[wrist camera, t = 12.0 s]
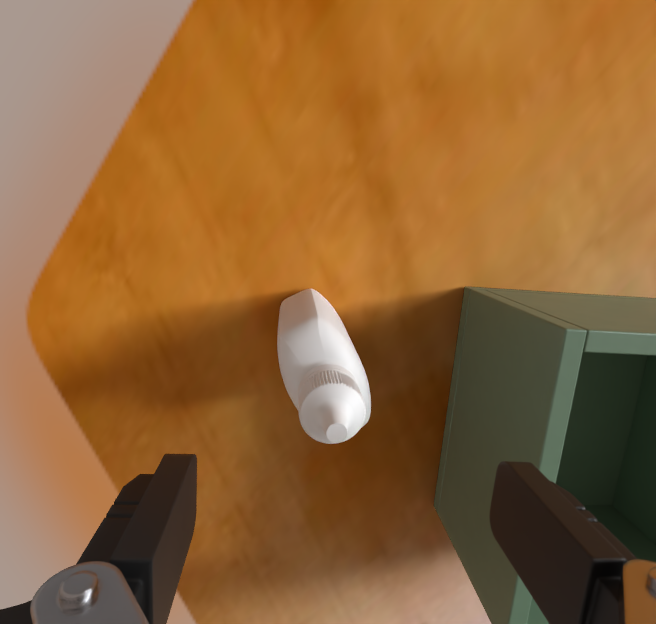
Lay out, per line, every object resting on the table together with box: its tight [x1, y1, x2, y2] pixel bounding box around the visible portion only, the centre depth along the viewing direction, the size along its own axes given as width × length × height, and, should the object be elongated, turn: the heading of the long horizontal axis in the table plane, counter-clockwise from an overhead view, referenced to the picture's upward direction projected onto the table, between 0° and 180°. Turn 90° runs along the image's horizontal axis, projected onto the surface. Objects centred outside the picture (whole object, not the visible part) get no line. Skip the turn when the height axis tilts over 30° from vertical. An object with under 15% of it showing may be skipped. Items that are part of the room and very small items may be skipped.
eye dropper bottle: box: [277, 289, 371, 444], centre depth 20 cm, size 4×6×12 cm
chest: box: [434, 287, 656, 624], centre depth 24 cm, size 15×13×10 cm
